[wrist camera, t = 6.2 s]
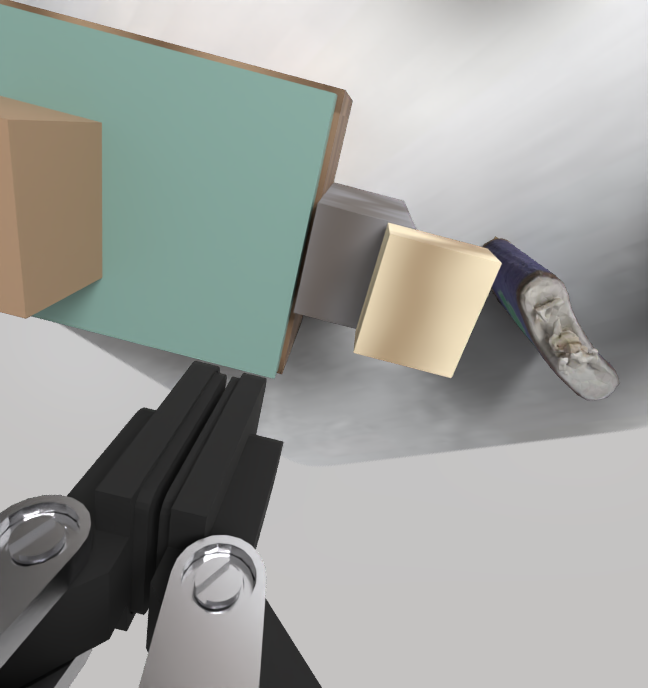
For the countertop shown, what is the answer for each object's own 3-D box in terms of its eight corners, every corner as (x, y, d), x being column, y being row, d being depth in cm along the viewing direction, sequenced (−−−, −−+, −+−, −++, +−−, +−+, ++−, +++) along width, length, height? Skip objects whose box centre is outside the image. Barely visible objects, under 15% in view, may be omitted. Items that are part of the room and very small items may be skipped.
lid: (337, 95, 20) (321, 78, 14) (278, 368, 27) (249, 442, 21) (-25, -1, 20) (-212, -64, 14) (9, 299, 27) (-105, 352, 21)
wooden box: (428, 121, 27) (453, 116, 19) (361, 339, 35) (357, 407, 26) (75, 26, 27) (-61, -22, 19) (81, 267, 34) (-15, 311, 26)
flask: (566, 326, 32) (646, 408, 23) (529, 347, 33) (591, 433, 24) (504, 228, 30) (565, 273, 20) (466, 253, 31) (507, 308, 21)
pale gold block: (487, 248, 21) (501, 263, 19) (443, 353, 24) (451, 378, 21) (388, 222, 21) (390, 233, 18) (355, 331, 24) (353, 352, 21)
